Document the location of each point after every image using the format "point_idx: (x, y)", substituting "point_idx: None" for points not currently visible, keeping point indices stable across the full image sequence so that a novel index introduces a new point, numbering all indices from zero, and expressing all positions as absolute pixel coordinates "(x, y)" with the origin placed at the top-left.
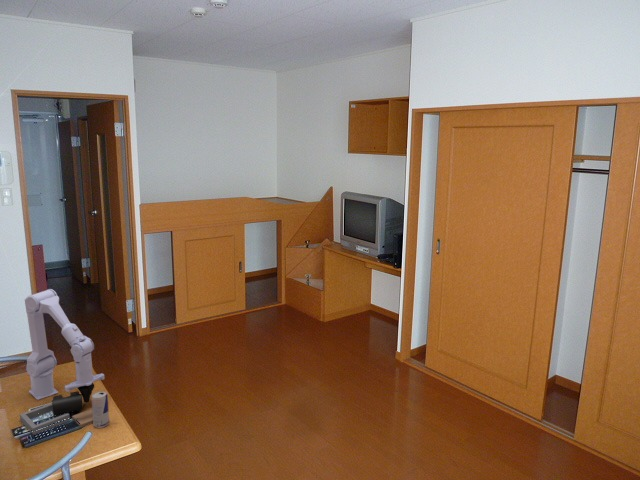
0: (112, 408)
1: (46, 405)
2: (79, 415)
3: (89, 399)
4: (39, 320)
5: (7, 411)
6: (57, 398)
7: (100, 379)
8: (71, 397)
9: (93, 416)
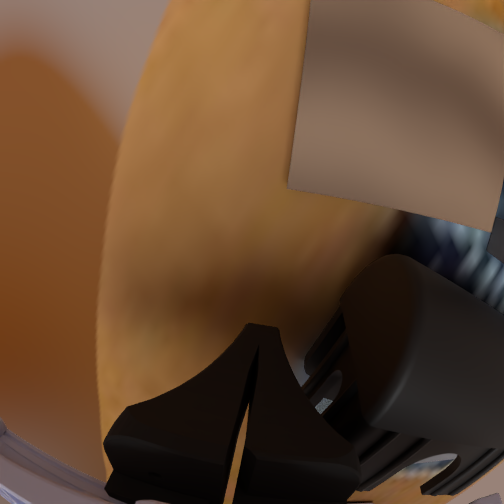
0: (147, 78)
1: (456, 454)
2: (458, 179)
3: (241, 334)
4: None
5: (471, 484)
6: (486, 464)
7: (12, 436)
8: (479, 417)
9: None
